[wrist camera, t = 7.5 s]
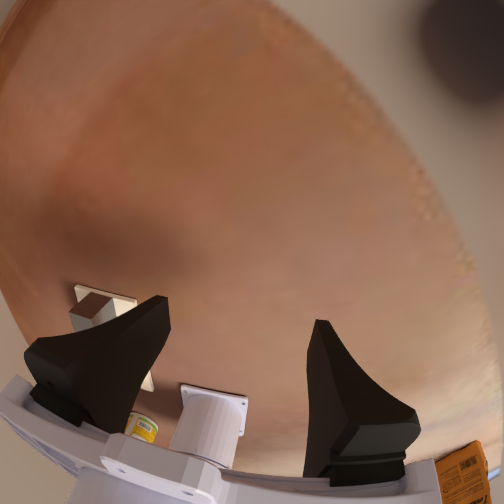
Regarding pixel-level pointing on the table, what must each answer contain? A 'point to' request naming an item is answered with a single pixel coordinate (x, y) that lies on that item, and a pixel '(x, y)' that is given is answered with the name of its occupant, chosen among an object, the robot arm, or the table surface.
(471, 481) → the coffee package
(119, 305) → the cream base with block
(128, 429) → the supplement bottle
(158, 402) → the table surface
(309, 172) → the table surface
